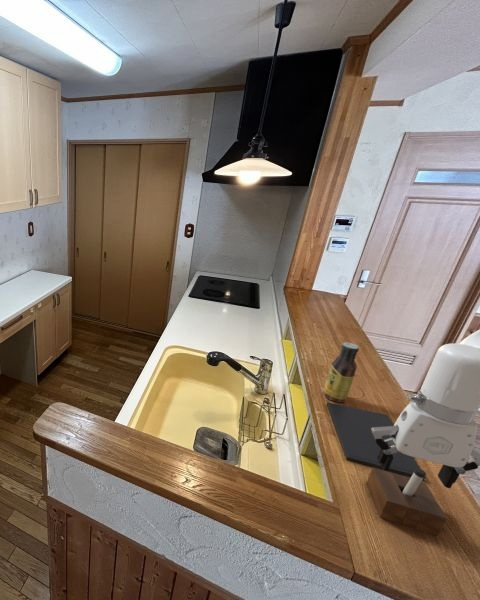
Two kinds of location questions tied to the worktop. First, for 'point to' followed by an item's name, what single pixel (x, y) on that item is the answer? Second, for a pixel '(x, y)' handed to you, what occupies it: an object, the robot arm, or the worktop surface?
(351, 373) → the sauce bottle
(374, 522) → the worktop surface
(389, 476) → the pen stand
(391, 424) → the plate
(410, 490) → the white thin cylinder
